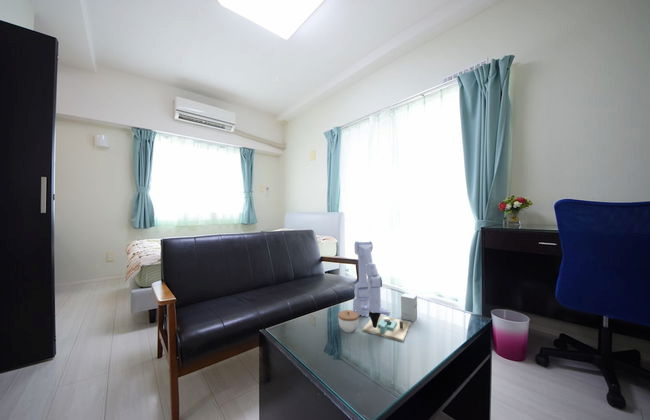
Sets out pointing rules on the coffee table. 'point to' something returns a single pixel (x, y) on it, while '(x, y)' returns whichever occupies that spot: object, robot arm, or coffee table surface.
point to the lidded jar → (348, 320)
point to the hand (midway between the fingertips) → (375, 326)
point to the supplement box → (409, 306)
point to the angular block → (384, 325)
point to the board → (396, 334)
